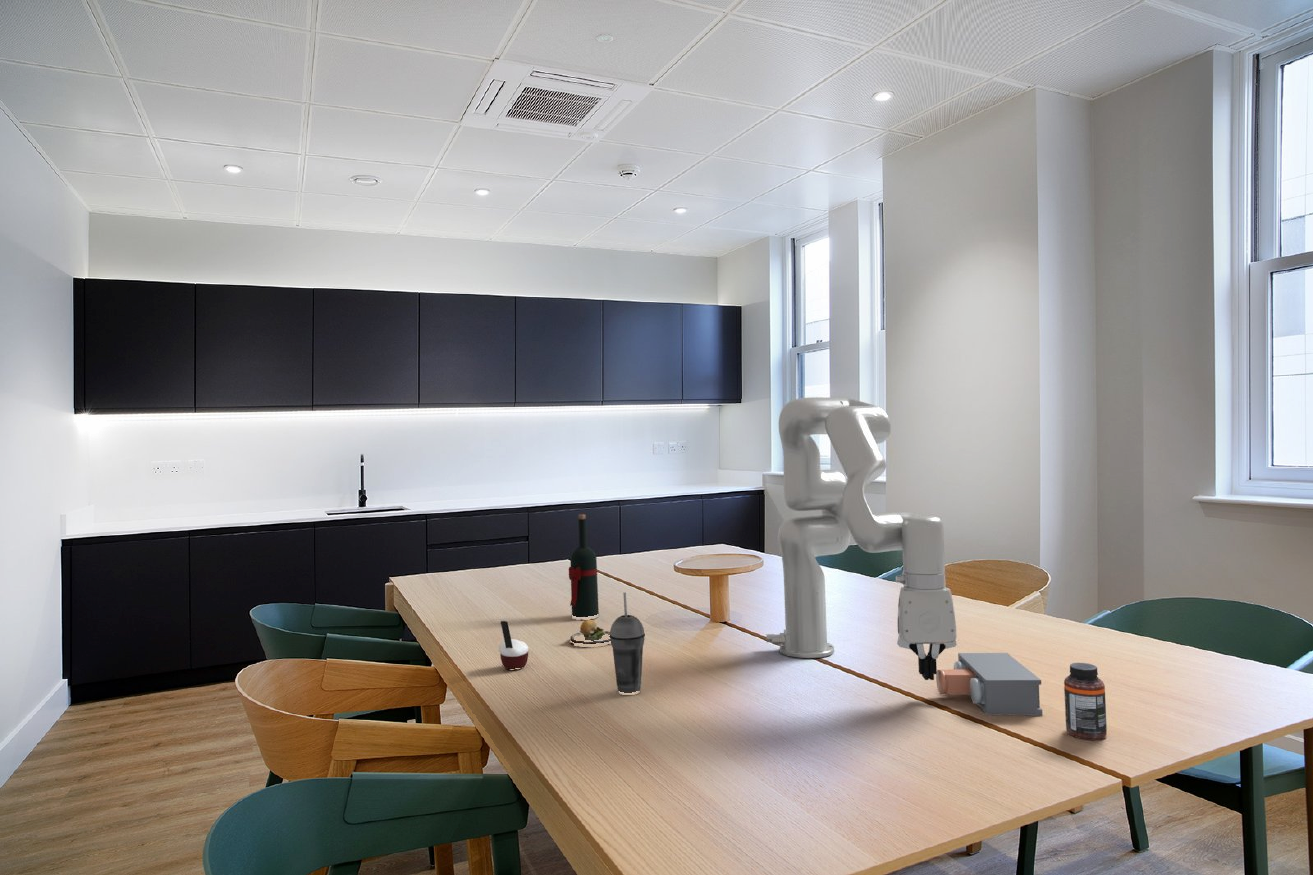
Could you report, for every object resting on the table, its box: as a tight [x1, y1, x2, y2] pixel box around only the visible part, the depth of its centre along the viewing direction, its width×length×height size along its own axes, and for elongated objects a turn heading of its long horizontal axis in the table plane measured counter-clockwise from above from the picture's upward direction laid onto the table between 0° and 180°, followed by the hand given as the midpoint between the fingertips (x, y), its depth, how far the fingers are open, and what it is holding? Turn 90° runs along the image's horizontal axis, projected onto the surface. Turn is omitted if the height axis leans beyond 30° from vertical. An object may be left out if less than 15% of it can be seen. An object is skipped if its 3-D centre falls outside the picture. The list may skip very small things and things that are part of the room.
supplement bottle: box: [1063, 662, 1108, 741], centre depth 130 cm, size 6×6×11 cm
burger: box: [569, 619, 611, 644], centre depth 203 cm, size 12×12×8 cm
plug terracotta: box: [935, 668, 975, 695], centre depth 150 cm, size 9×4×4 cm, turn 84°
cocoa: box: [498, 620, 530, 670], centre depth 180 cm, size 10×6×12 cm, turn 144°
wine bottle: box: [568, 513, 600, 617], centre depth 231 cm, size 8×10×30 cm
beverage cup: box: [609, 591, 646, 693], centre depth 161 cm, size 7×7×20 cm
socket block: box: [957, 652, 1043, 716], centre depth 149 cm, size 9×18×6 cm, turn 174°
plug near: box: [970, 678, 985, 705], centre depth 144 cm, size 9×4×4 cm, turn 84°
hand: (927, 677), depth 150 cm, fingers closed
